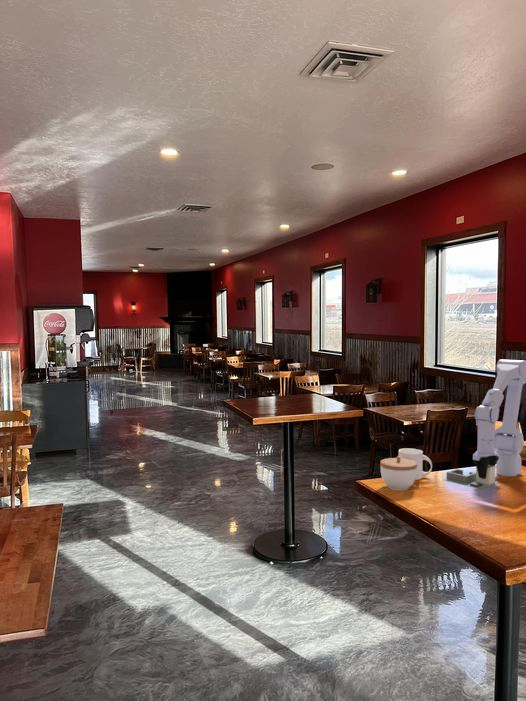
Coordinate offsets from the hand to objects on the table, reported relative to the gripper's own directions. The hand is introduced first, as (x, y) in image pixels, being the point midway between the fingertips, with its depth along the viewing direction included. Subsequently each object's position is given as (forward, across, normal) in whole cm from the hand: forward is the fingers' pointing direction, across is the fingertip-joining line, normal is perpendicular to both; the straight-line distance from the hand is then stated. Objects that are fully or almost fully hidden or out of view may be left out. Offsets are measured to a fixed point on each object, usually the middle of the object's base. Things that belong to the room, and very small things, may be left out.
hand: (485, 477), depth 198 cm
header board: (+3, -2, +4) cm, 6 cm away
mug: (+3, -13, +20) cm, 24 cm away
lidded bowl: (+3, -26, +18) cm, 32 cm away
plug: (+2, +2, 0) cm, 3 cm away
